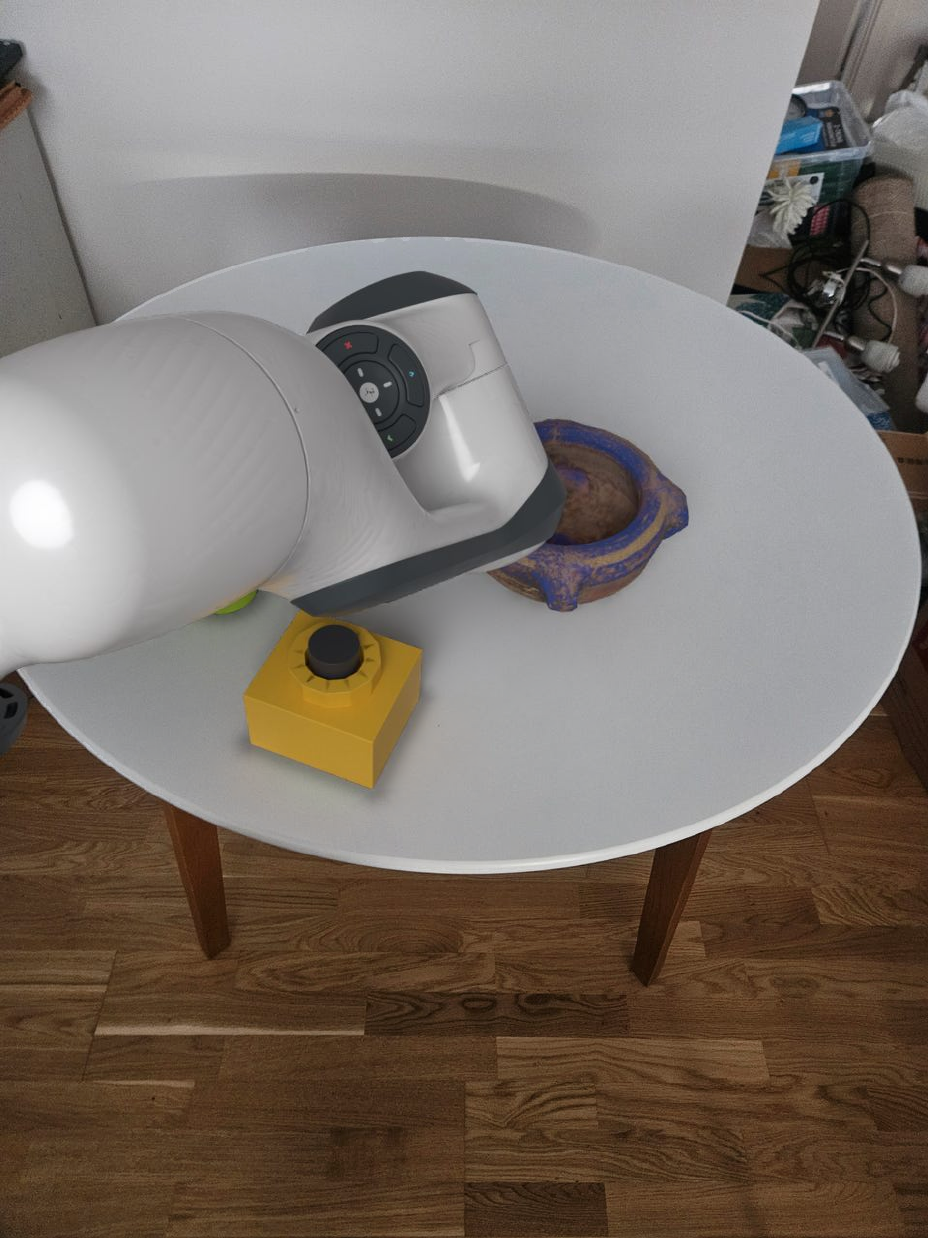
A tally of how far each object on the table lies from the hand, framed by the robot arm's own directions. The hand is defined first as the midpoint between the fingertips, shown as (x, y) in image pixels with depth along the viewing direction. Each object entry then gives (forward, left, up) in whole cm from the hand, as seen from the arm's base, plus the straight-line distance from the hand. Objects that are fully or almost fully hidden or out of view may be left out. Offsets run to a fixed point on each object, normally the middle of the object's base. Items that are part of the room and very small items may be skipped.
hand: (195, 484), depth 74 cm
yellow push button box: (+16, -8, -11) cm, 21 cm away
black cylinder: (+16, -8, -4) cm, 18 cm away
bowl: (+26, +15, -12) cm, 32 cm away
